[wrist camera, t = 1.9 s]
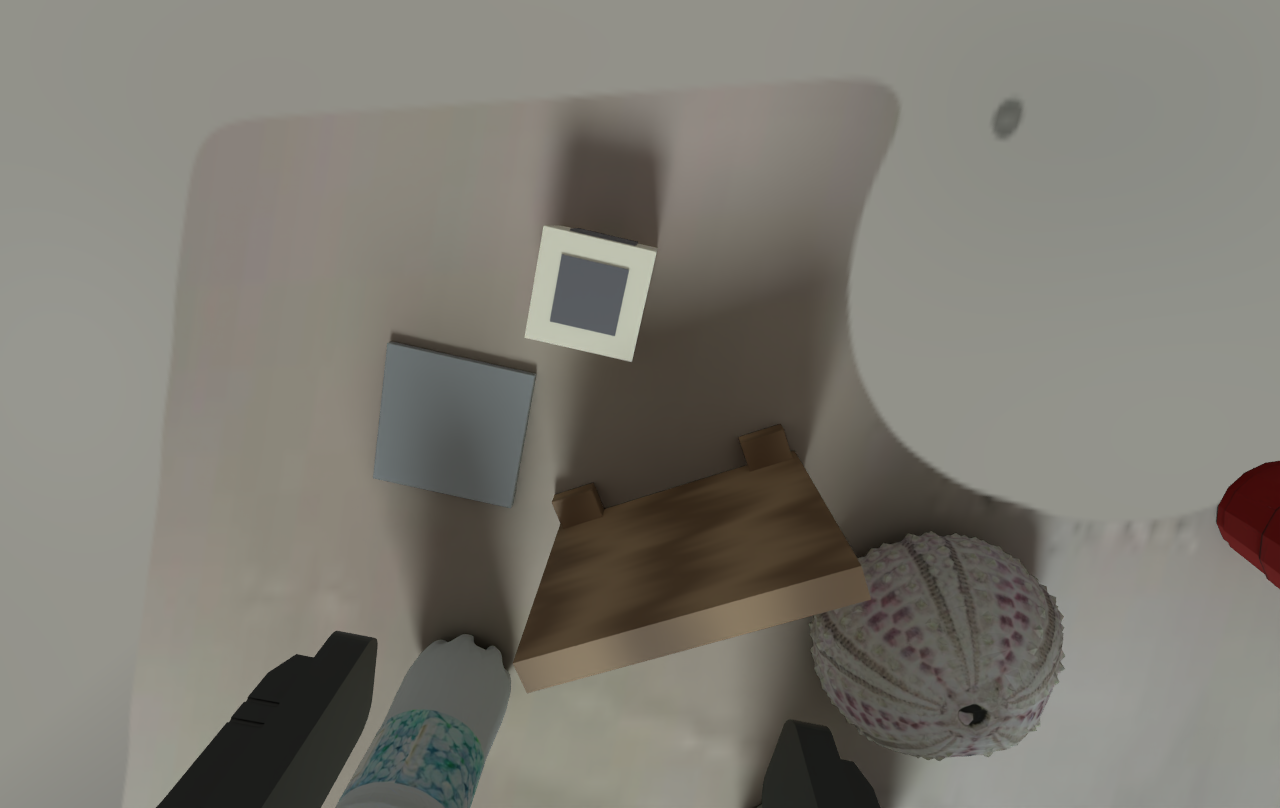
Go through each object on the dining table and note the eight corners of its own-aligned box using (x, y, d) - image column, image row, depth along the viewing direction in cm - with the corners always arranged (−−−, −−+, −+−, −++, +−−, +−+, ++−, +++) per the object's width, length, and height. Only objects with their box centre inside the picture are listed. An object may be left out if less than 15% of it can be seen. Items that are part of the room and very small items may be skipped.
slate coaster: (536, 373, 33) (534, 376, 33) (512, 504, 36) (510, 508, 35) (391, 341, 33) (387, 343, 33) (377, 474, 35) (373, 478, 35)
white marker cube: (636, 341, 33) (631, 362, 28) (544, 320, 33) (524, 337, 28) (657, 245, 31) (657, 249, 26) (562, 223, 31) (543, 223, 26)
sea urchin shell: (1075, 579, 36) (1188, 676, 28) (933, 739, 39) (999, 864, 32) (886, 474, 34) (950, 546, 27) (757, 650, 38) (781, 758, 30)
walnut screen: (785, 422, 34) (849, 524, 22) (809, 501, 35) (882, 637, 23) (549, 496, 35) (495, 627, 24) (580, 569, 37) (543, 727, 25)
